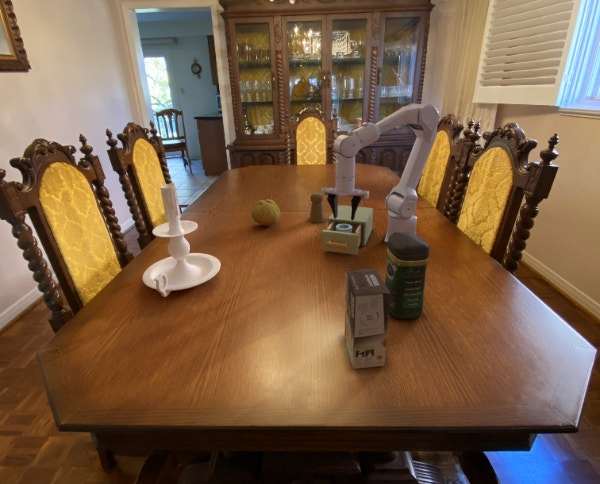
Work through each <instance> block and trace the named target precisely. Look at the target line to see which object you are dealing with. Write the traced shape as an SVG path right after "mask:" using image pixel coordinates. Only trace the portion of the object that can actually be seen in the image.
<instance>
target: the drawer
mask: <svg viewBox="0 0 600 484" xmlns="http://www.w3.org/2000/svg"><path fill="white" fill-rule="evenodd" d="M338 224H349V225H351V226H352V233H346V232H338V231H336V226H337V225H338ZM362 239H363V224H356V223H347V222H337V221H332V222H331V224H330V225H329V226H328V225H327V228H326V229H322V230H321V251H325V252H332V253H339V254H348V255H354V256H358V255H359V247H360V246H361V245H360V243H361V241H362Z"/></svg>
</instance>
